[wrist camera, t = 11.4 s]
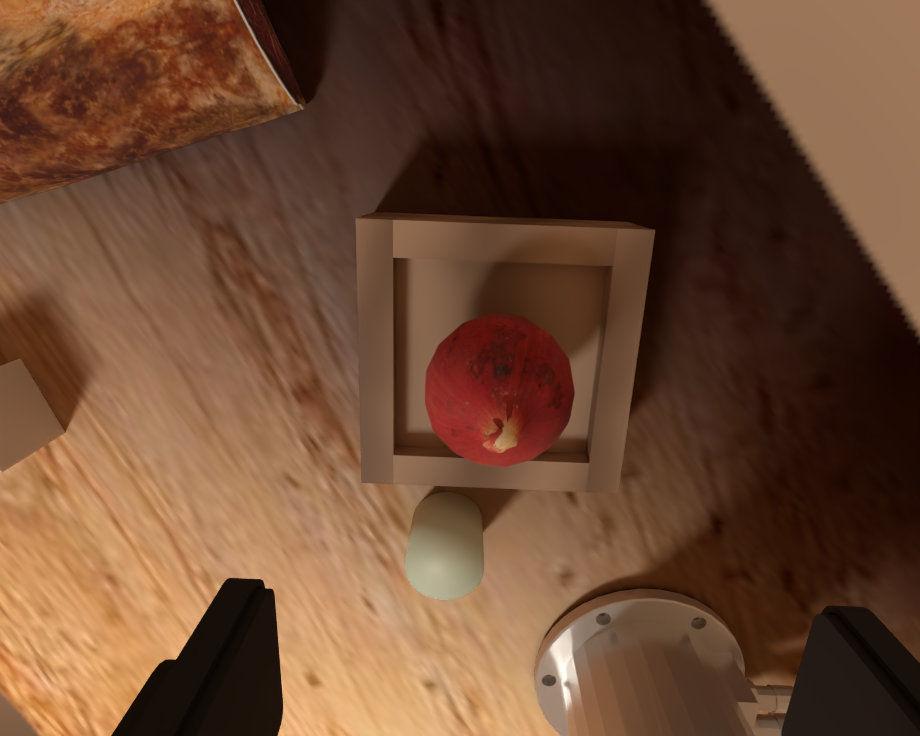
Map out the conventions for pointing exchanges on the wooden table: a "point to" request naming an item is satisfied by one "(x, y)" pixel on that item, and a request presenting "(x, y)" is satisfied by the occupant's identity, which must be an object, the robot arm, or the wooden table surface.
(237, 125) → the cured meat
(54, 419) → the grey ceramic cube
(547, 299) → the shallow wooden tray
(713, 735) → the robot arm
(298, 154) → the wooden table surface
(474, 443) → the red fruit
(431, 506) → the sage painted capsule
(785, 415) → the wooden table surface
